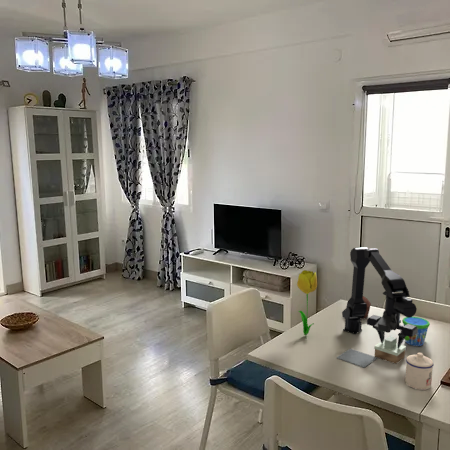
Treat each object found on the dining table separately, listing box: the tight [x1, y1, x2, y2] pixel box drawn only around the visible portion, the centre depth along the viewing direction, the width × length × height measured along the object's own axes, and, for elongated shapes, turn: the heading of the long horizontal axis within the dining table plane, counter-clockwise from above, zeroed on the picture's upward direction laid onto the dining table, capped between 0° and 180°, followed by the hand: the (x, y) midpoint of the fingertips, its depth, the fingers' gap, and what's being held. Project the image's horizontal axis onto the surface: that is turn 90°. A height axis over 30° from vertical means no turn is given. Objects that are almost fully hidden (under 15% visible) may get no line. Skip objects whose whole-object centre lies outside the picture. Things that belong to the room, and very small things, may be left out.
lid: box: [373, 335, 407, 356], centre depth 184 cm, size 9×8×4 cm
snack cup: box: [401, 316, 431, 347], centre depth 197 cm, size 16×10×10 cm
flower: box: [296, 269, 318, 336], centre depth 203 cm, size 9×8×30 cm
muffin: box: [361, 295, 372, 320], centre depth 229 cm, size 12×11×10 cm
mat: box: [336, 348, 379, 369], centre depth 184 cm, size 12×11×1 cm
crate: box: [374, 349, 406, 365], centre depth 185 cm, size 9×8×4 cm
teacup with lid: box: [404, 352, 434, 391], centre depth 165 cm, size 12×9×12 cm
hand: (390, 345), depth 185 cm, fingers open, 6 cm apart
